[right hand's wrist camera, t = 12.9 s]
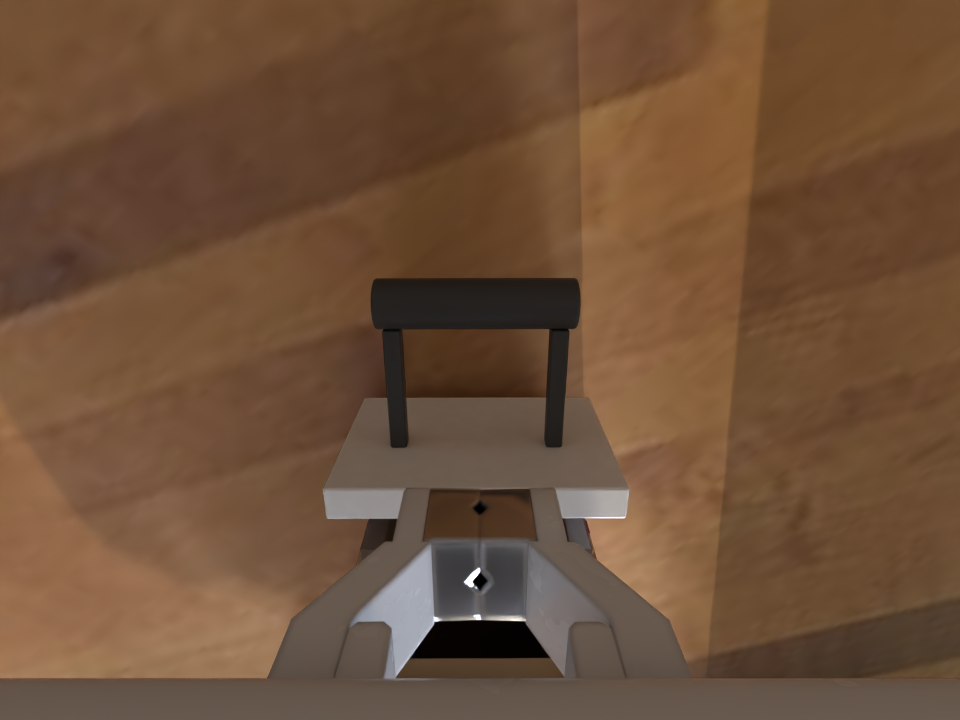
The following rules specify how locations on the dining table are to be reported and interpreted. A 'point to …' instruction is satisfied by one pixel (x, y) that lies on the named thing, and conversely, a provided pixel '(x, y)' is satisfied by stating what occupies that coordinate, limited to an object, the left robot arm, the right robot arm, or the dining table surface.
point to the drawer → (475, 434)
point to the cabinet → (481, 664)
